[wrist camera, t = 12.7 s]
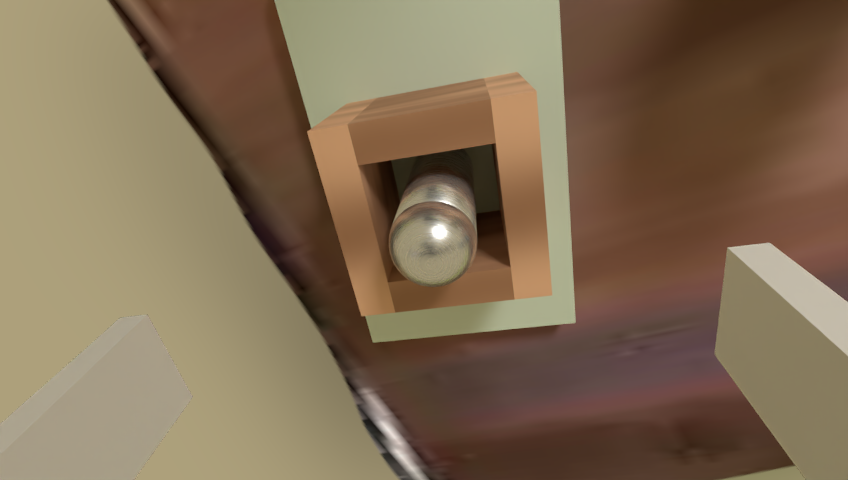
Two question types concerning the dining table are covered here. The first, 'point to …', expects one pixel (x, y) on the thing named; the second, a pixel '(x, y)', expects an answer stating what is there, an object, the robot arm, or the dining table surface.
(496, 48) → the post plate
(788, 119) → the dining table surface
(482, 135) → the collar
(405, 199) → the post
